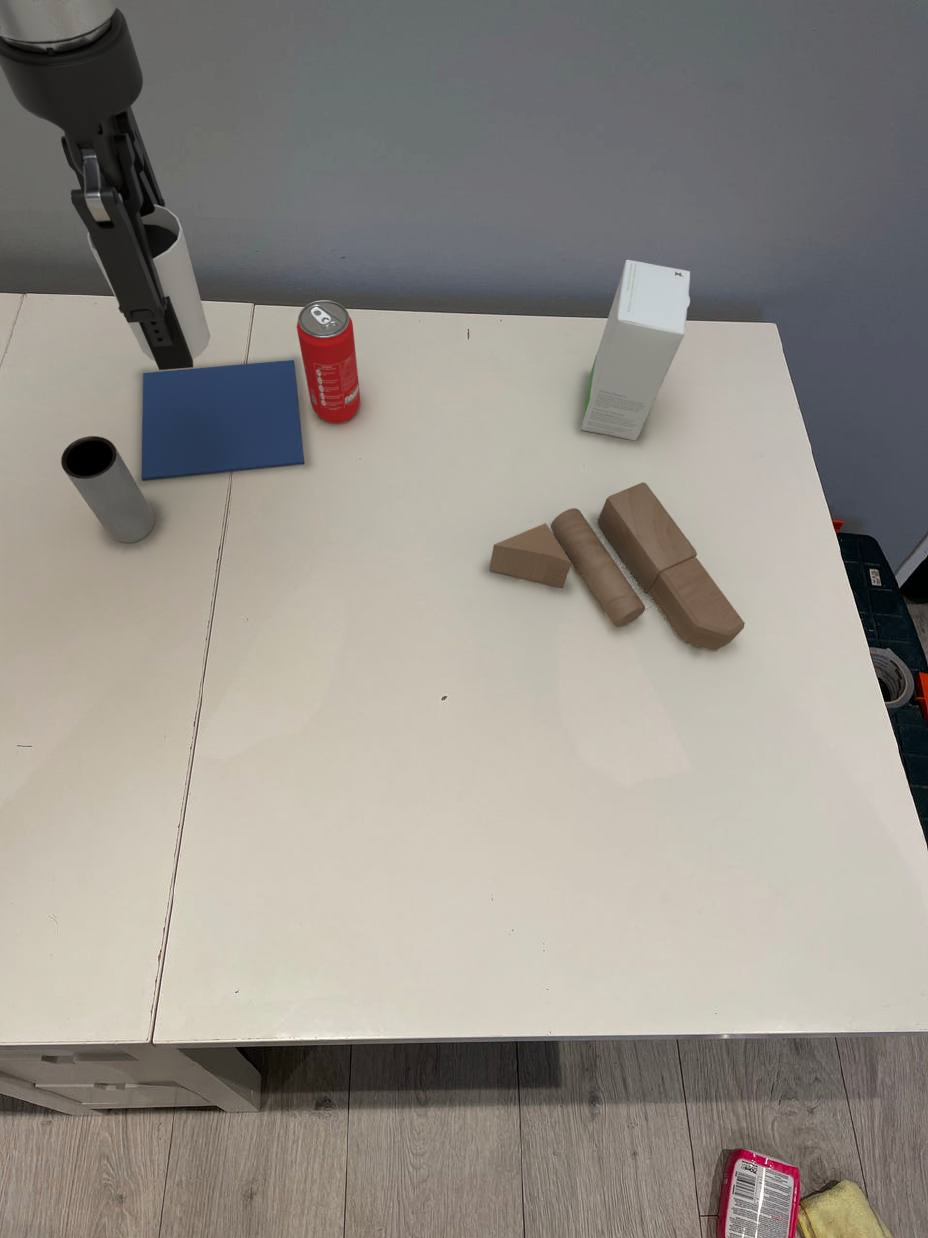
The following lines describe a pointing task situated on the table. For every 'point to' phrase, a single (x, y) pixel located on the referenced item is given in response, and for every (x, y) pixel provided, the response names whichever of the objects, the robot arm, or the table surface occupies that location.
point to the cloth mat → (220, 420)
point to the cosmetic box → (636, 348)
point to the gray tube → (108, 488)
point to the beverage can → (329, 360)
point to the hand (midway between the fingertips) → (176, 336)
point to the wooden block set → (648, 554)
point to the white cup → (171, 279)
